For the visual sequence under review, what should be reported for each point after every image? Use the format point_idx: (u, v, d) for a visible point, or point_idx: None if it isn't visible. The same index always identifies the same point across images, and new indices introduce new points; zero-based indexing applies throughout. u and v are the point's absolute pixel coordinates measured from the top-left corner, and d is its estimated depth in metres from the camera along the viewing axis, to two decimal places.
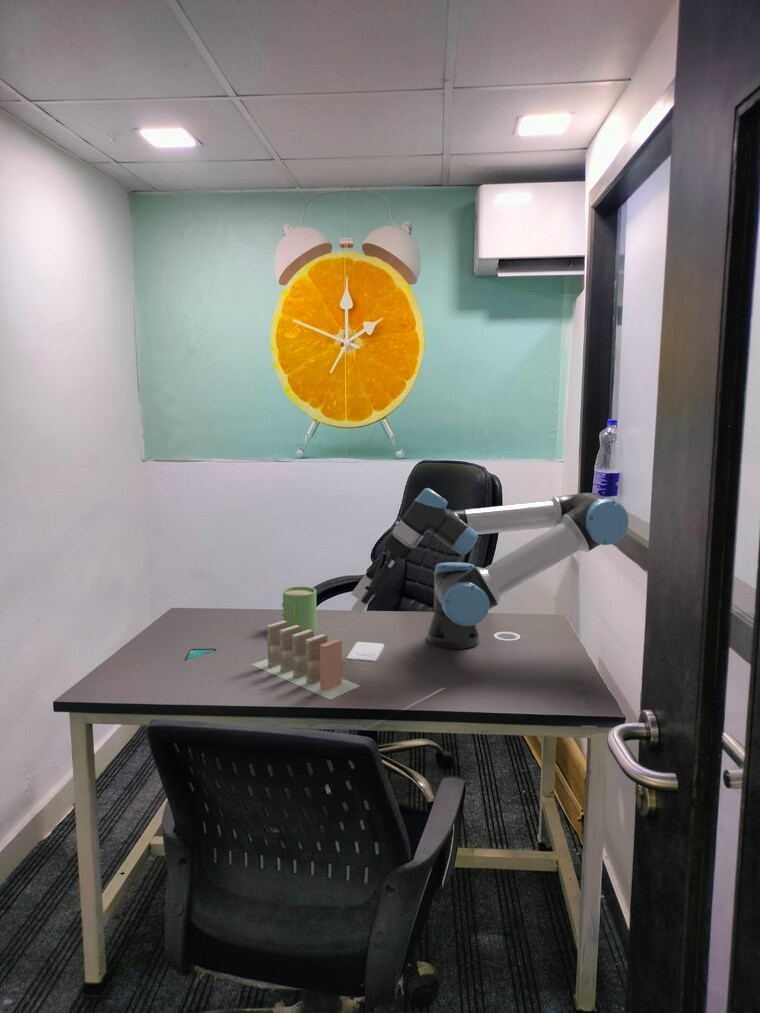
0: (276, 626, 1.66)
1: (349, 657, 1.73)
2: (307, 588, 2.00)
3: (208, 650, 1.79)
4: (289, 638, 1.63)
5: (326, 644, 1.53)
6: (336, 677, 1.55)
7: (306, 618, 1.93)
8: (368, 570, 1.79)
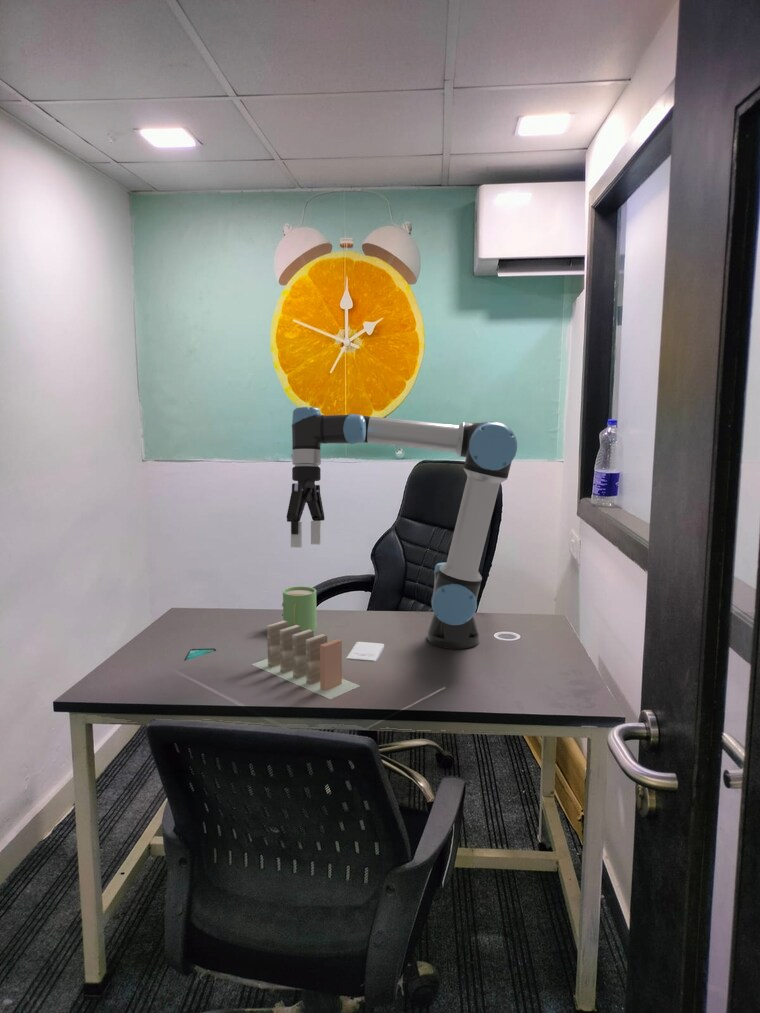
0: (276, 626, 1.66)
1: (349, 657, 1.73)
2: (307, 588, 2.00)
3: (208, 650, 1.79)
4: (289, 638, 1.63)
5: (326, 644, 1.53)
6: (336, 677, 1.55)
7: (306, 618, 1.93)
8: None
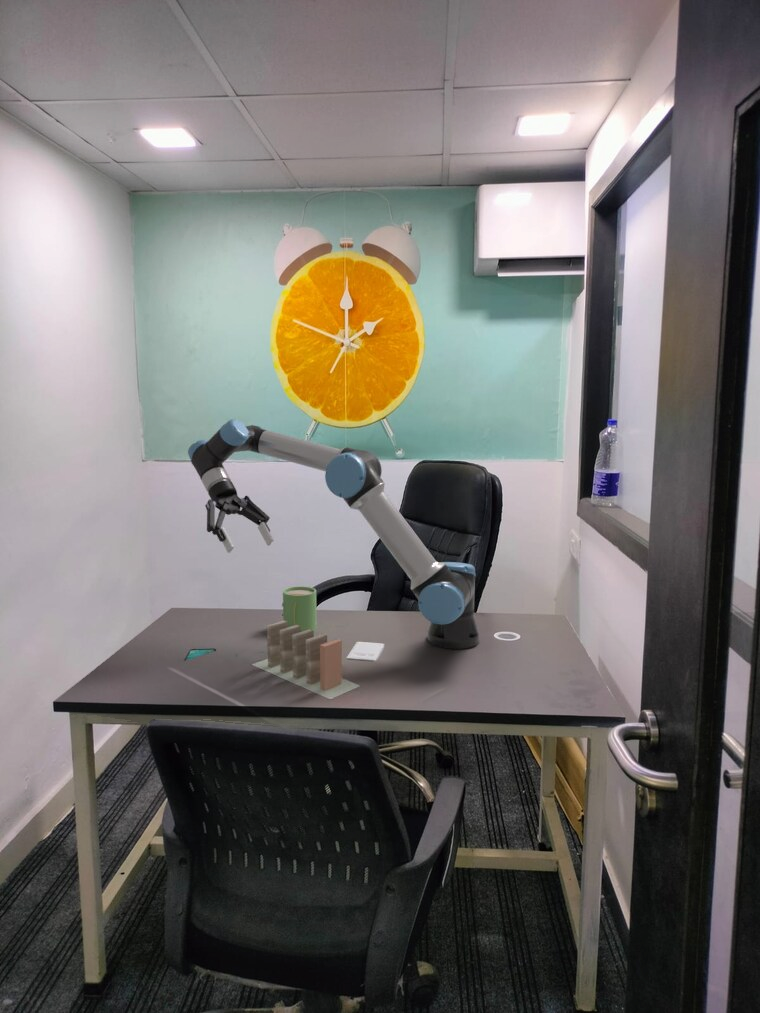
0: (276, 626, 1.66)
1: (349, 657, 1.73)
2: (307, 588, 2.00)
3: (208, 650, 1.79)
4: (289, 638, 1.63)
5: (326, 644, 1.53)
6: (336, 677, 1.55)
7: (306, 618, 1.93)
8: None
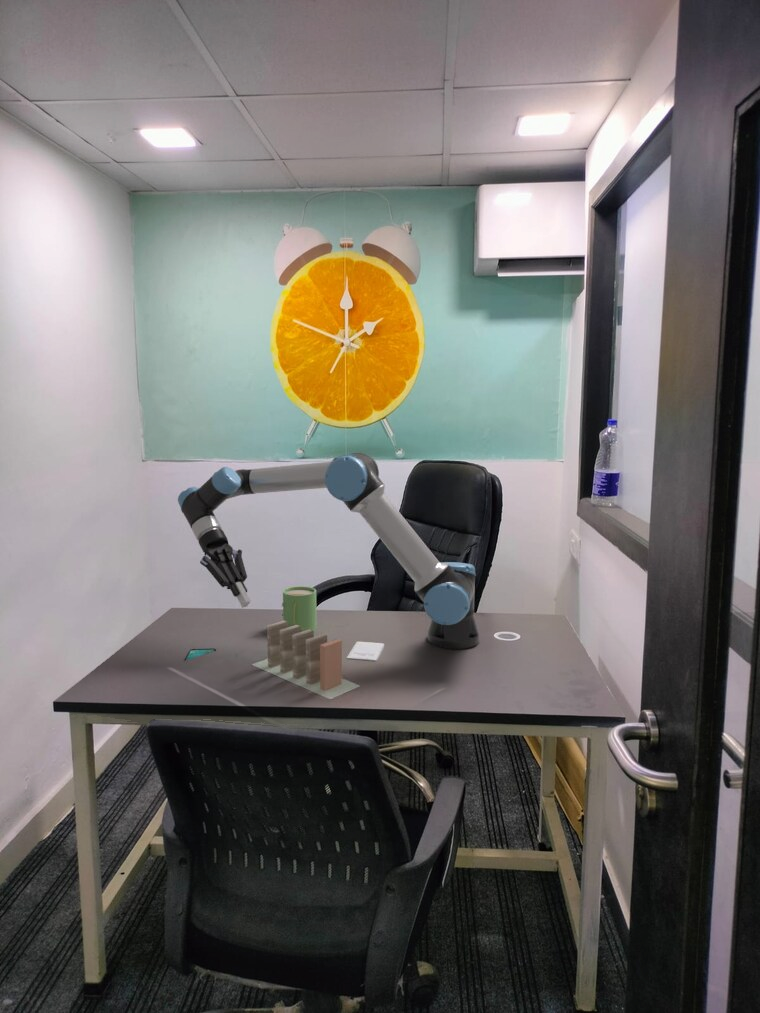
0: (276, 626, 1.66)
1: (349, 657, 1.73)
2: (307, 588, 2.00)
3: (208, 650, 1.79)
4: (289, 638, 1.63)
5: (326, 644, 1.53)
6: (336, 677, 1.55)
7: (306, 618, 1.93)
8: (237, 582, 1.80)
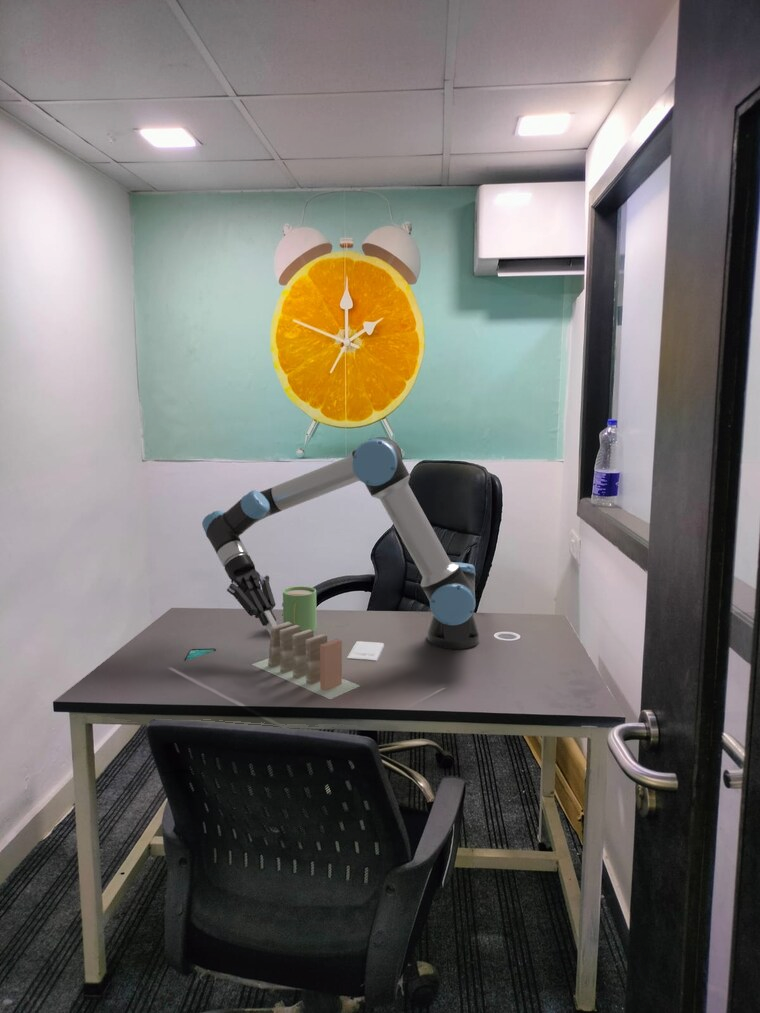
0: (280, 628, 1.65)
1: (350, 657, 1.73)
2: (307, 588, 2.00)
3: (208, 650, 1.79)
4: (289, 638, 1.63)
5: (326, 644, 1.53)
6: (336, 677, 1.55)
7: (306, 618, 1.93)
8: None
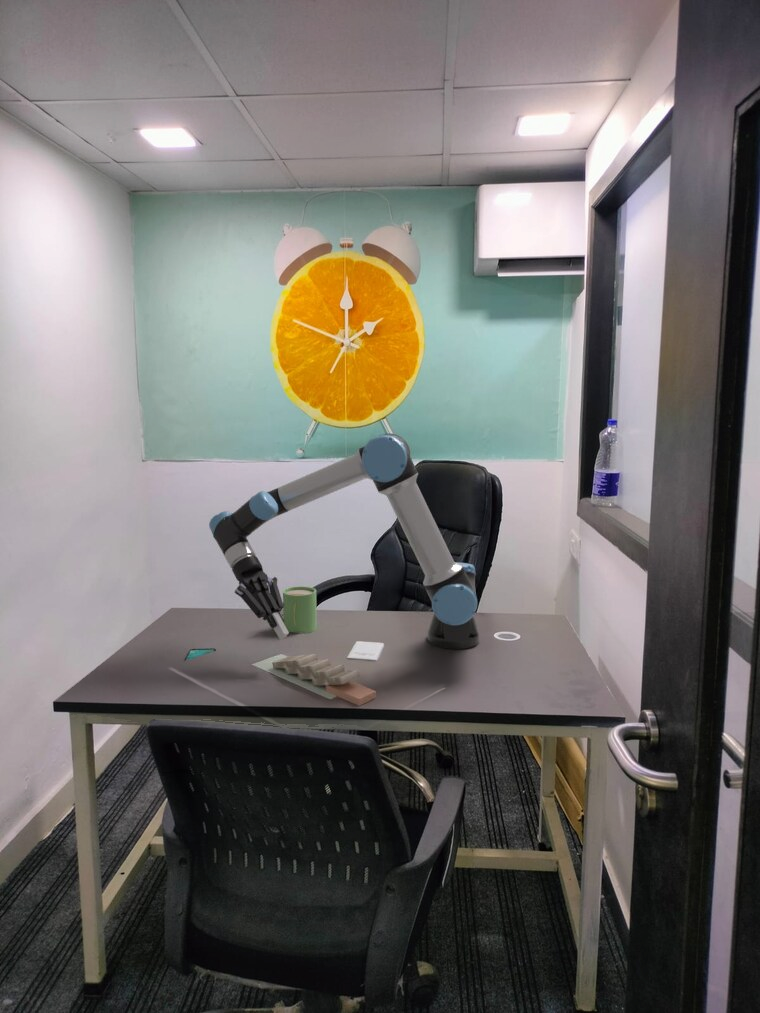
0: (304, 664, 1.60)
1: (350, 656, 1.73)
2: (307, 588, 2.00)
3: (208, 650, 1.79)
4: None
5: (363, 701, 1.46)
6: None
7: (306, 618, 1.93)
8: None
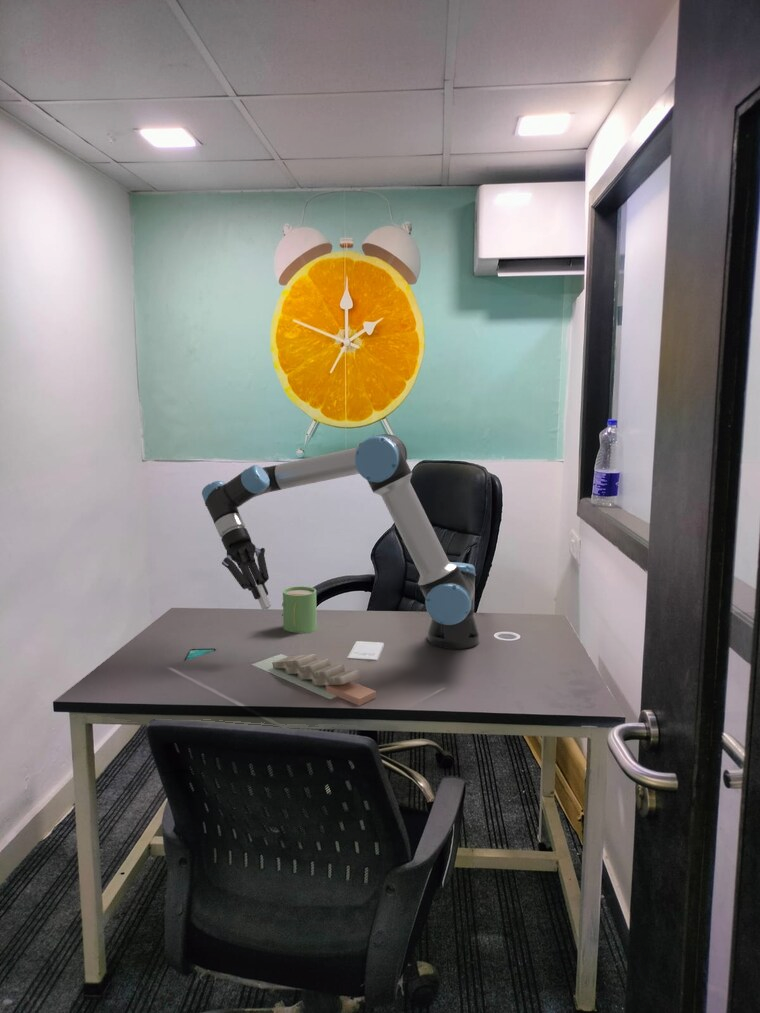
0: (304, 664, 1.60)
1: (350, 657, 1.73)
2: (307, 588, 2.00)
3: (208, 650, 1.79)
4: None
5: (363, 701, 1.46)
6: None
7: (306, 618, 1.93)
8: None
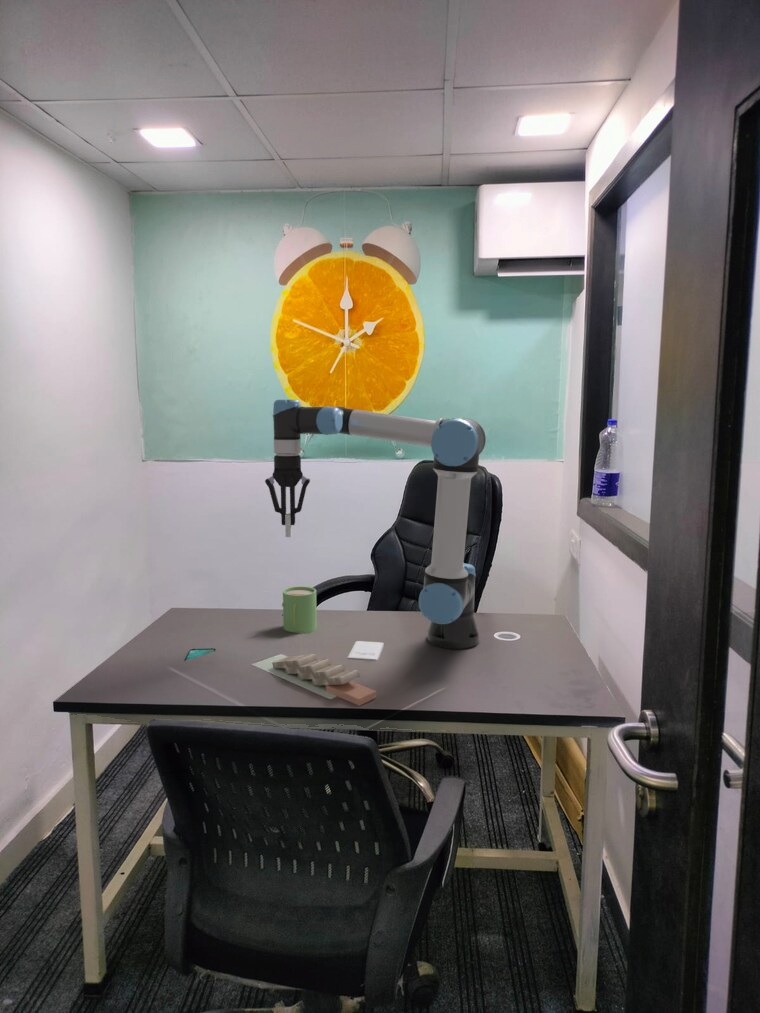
0: (304, 664, 1.60)
1: (350, 656, 1.73)
2: (307, 588, 2.00)
3: (208, 650, 1.79)
4: None
5: (363, 701, 1.46)
6: None
7: (306, 618, 1.93)
8: None
